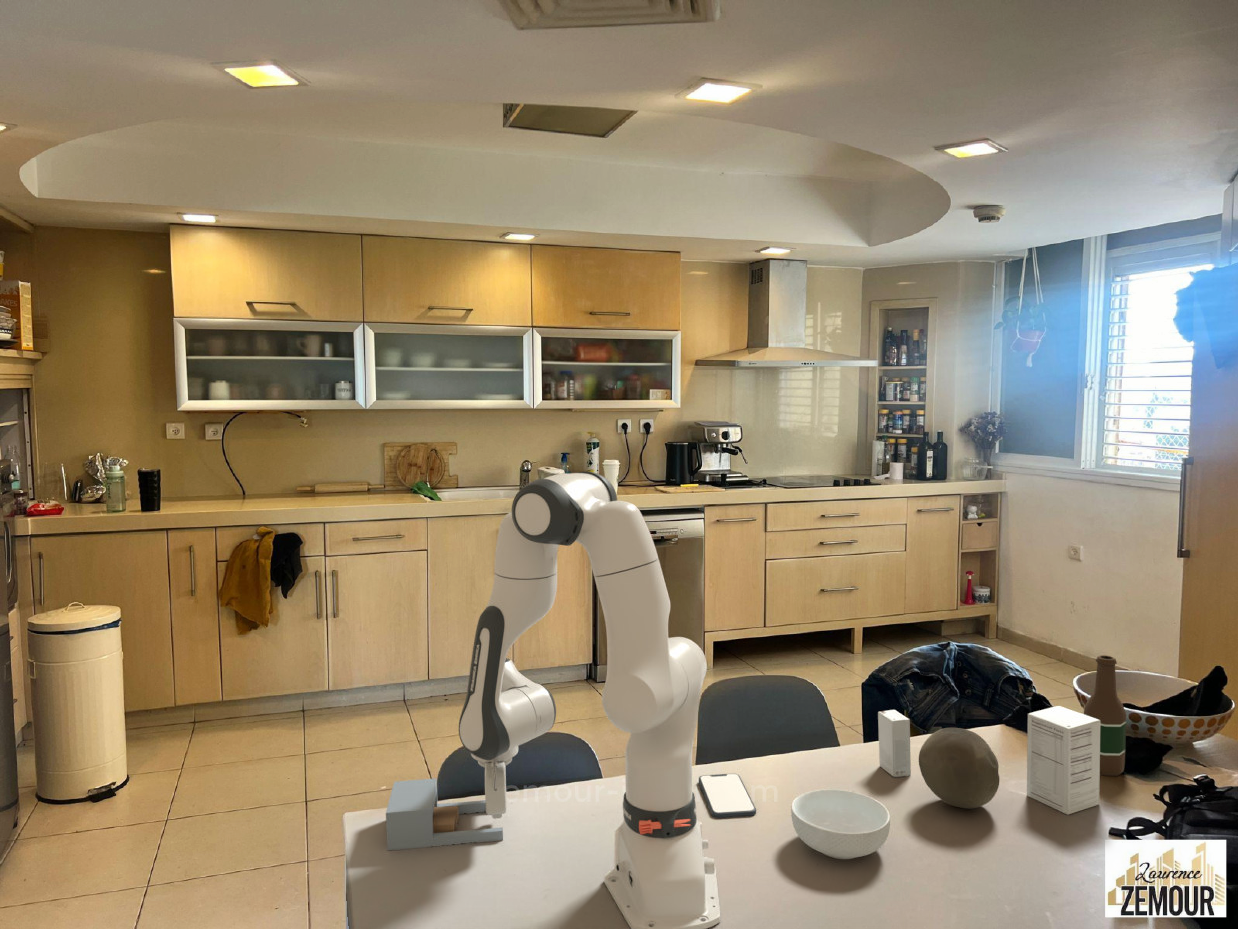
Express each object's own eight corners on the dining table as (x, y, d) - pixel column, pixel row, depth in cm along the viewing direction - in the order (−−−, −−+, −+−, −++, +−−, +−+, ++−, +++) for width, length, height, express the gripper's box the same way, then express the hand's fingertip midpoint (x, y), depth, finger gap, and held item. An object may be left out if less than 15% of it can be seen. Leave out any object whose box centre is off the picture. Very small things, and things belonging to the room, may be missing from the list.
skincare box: (911, 775, 179) (912, 719, 178) (892, 778, 178) (892, 721, 177) (896, 763, 185) (896, 708, 184) (877, 765, 184) (877, 710, 183)
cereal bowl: (908, 849, 151) (909, 810, 151) (854, 886, 140) (854, 844, 140) (827, 814, 164) (827, 778, 163) (771, 846, 153) (771, 808, 152)
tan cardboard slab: (453, 840, 158) (453, 824, 158) (398, 842, 157) (398, 827, 157) (458, 821, 165) (458, 806, 165) (406, 823, 164) (405, 808, 164)
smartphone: (758, 819, 164) (739, 780, 180) (758, 811, 164) (738, 772, 180) (712, 822, 163) (697, 782, 179) (712, 814, 163) (697, 775, 179)
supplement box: (1100, 805, 165) (1103, 720, 164) (1068, 816, 161) (1070, 729, 160) (1056, 785, 174) (1058, 704, 172) (1024, 795, 170) (1026, 712, 169)
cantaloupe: (950, 783, 175) (951, 712, 174) (1014, 811, 164) (1015, 734, 162) (904, 802, 168) (904, 728, 167) (967, 833, 156) (969, 753, 155)
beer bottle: (1073, 764, 183) (1076, 653, 181) (1102, 758, 186) (1105, 649, 184) (1103, 779, 176) (1107, 665, 174) (1133, 773, 178) (1137, 660, 176)
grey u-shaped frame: (503, 840, 157) (501, 803, 156) (387, 850, 154) (385, 813, 153) (502, 807, 169) (501, 773, 168) (395, 816, 166) (394, 781, 166)
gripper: (512, 766, 151) (515, 841, 153) (510, 722, 172) (512, 789, 173) (476, 769, 151) (479, 845, 152) (478, 724, 171) (481, 792, 172)
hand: (497, 815), depth 162 cm, fingers closed
